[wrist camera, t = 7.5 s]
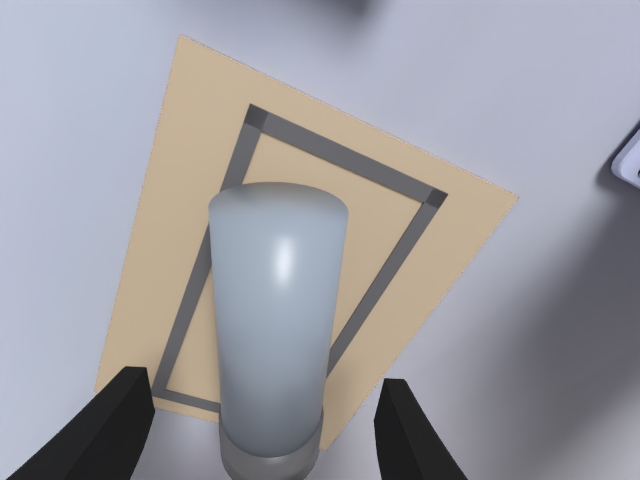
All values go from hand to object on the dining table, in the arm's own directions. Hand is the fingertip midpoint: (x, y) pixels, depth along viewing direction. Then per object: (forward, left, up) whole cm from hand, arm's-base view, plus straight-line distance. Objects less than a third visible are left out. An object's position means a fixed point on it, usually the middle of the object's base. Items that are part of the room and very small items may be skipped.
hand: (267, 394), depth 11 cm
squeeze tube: (0, 0, -4) cm, 4 cm away
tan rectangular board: (0, 0, -4) cm, 4 cm away
